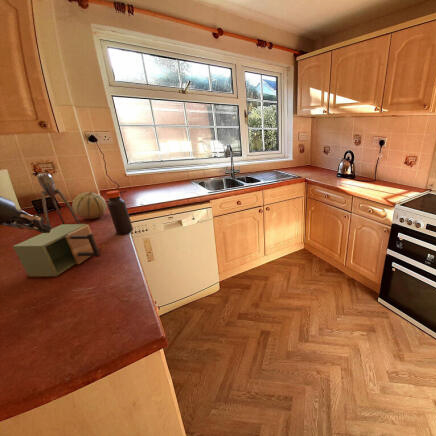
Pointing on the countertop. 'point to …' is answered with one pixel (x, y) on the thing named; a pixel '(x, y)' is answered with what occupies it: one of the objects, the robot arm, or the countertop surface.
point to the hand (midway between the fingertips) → (48, 230)
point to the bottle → (119, 213)
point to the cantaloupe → (89, 205)
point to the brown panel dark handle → (82, 245)
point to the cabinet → (48, 251)
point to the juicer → (52, 195)
